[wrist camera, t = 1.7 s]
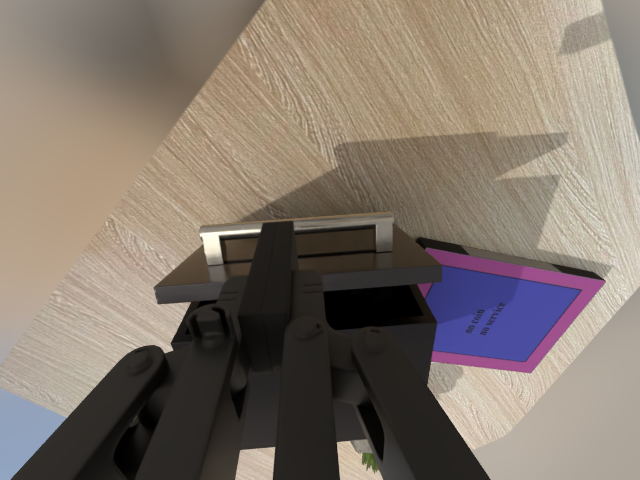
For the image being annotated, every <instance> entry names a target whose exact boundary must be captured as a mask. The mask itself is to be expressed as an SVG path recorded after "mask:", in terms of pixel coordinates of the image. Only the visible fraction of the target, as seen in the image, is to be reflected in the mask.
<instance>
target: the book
mask: <svg viewBox="0 0 640 480" xmlns="http://www.w3.org/2000/svg"><path fill="white" fill-rule="evenodd" d="M416 243H418V244H419V245H420V246H421V247H422V248H423V249H424V250H426V251H427V252H428V253H429V254H430V255H431V256H433V257H434V258H435V259H436V260H437V261H438V262H440V263H441V264H442V282H438V283H425V284H417V285H418V287H419V289H420V291H421V292H422V294H423V296H424V298H425V300H426V302H427V304H428V306H429V308H430V309H431V311H432V313H433V315H434V317H435V318H436V320H437V322H438V323H437V329H436V335H435V341H434V347H433V353H432V359H431V362H439V363H447V364H456V365H464V366H473V367H482V368H490V369H499V370H507V371H516V372H524V373H532V371H533V370H534V369H535V368H536V366H537V365H538V364H539V363H540V362H541V360H542V359H543V358H544V357H545V355H546V354H547V353H548V352H549V351H550V349H551V348H552V347H553V346H554V344H555V343H556V342H557V341H558V340H559V338H560V337H561V336H562V335H563V333H564V332H565V331H566V330H567V329H568V327H569V326H570V325H571V324H572V323H573V321H574V320H575V319H576V318H577V316H578V315H579V314H580V313H581V312H582V310H583V309H584V308H585V307H586V305H587V304H588V303H589V302H590V301H591V299H592V298H593V297H594V296H595V294H596V293H597V292H598V291H599V290H600V288H601V287H602V286H603V285H604V284H605V282H606V281H605V280H604V279H602V278H601V277H599V276H598V275H596V274H595V273H593V272H590V271H585V270H580V269H575V268H570V267H565V266H560V265H555V264H550V263H545V262H540V261H535V260H530V259H526V258H521V257H516V256H511V255H506V254H501V253H496V252H491V251H486V250H481V249H476V248H471V247H466V246H461V245H456V244H451V243H446V242H441V241H436V240H431V239H426V238H420V237H418V239H417V242H416Z"/></svg>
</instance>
